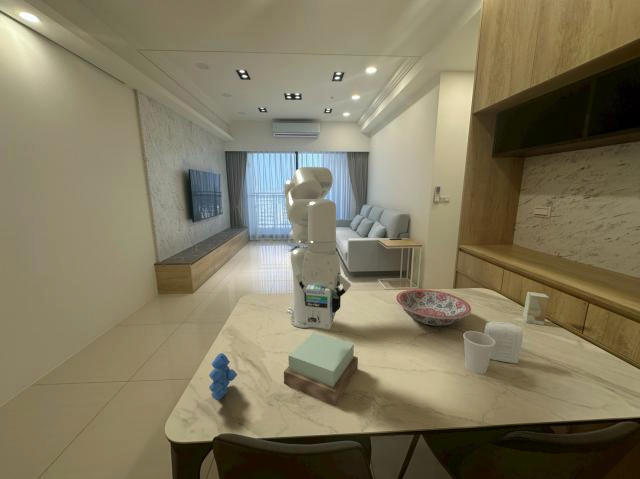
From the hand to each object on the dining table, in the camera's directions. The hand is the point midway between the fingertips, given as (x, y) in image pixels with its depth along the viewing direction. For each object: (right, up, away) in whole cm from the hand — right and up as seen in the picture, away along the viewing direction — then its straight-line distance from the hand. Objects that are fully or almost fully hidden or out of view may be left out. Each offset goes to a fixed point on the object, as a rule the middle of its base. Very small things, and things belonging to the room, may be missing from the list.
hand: (322, 307), depth 74 cm
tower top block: (0, -17, +3) cm, 18 cm away
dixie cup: (+48, -21, +7) cm, 52 cm away
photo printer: (+58, -20, +12) cm, 62 cm away
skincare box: (+89, -16, +36) cm, 97 cm away
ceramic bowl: (+47, -15, +38) cm, 62 cm away
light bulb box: (0, -4, +1) cm, 4 cm away
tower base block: (0, -22, +4) cm, 22 cm away
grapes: (-26, -23, -4) cm, 35 cm away
